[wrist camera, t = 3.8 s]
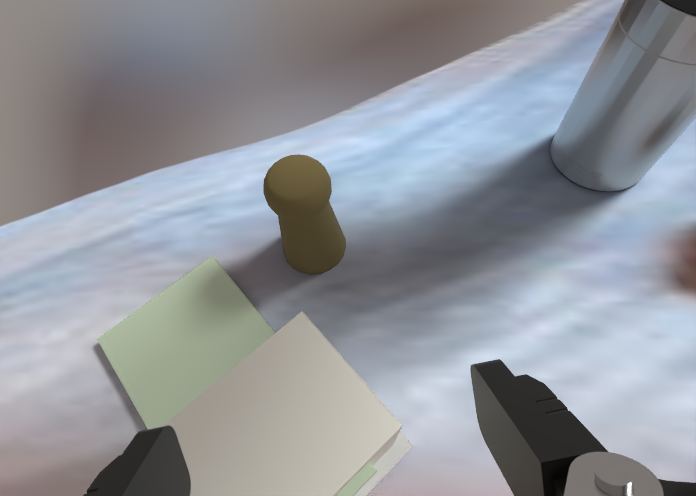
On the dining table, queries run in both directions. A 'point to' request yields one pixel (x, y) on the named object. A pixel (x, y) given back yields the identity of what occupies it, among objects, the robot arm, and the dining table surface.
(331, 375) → the housing
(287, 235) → the cork
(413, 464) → the dining table surface
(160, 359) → the plate
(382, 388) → the dining table surface
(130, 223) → the dining table surface
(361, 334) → the dining table surface
